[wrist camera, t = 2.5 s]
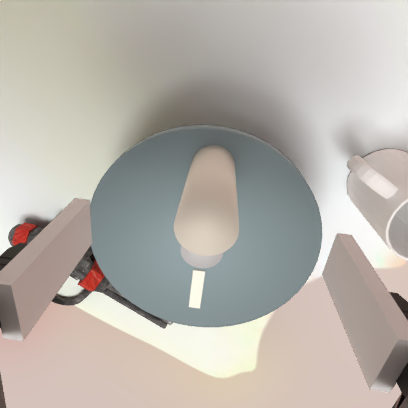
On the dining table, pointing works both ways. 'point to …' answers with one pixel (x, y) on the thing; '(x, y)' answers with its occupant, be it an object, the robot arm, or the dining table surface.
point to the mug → (382, 195)
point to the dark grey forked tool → (83, 275)
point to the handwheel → (205, 226)
